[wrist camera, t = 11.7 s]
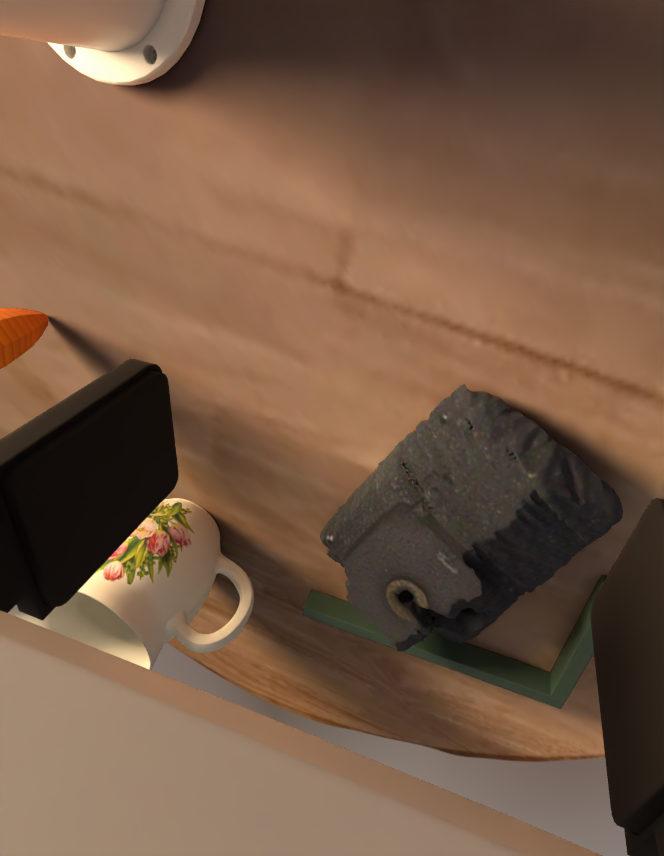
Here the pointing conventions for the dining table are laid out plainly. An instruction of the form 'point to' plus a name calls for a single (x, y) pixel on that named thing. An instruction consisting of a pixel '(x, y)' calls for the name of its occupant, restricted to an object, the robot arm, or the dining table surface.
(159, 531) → the pitcher
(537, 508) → the dark slate chunk
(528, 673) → the corner stop
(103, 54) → the robot arm
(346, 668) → the dining table surface
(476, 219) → the dining table surface
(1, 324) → the carrot
